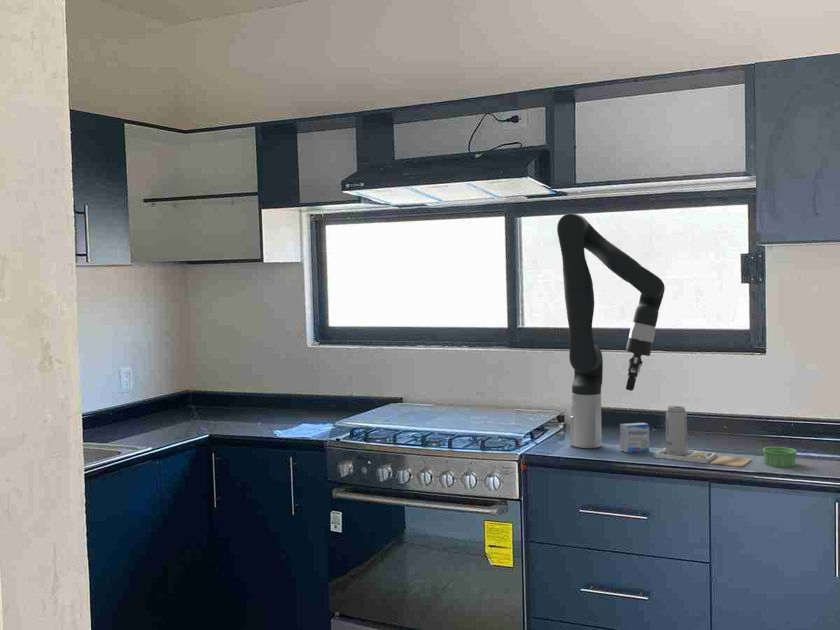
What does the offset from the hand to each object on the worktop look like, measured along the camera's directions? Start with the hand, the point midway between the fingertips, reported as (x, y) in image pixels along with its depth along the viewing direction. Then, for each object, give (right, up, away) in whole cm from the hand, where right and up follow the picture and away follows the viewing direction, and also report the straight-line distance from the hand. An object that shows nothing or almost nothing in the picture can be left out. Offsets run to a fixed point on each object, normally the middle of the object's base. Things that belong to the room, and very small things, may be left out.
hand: (629, 389), depth 260 cm
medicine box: (+2, -20, +1) cm, 20 cm away
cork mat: (+26, -20, -16) cm, 36 cm away
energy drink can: (+13, -20, -7) cm, 24 cm away
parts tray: (+15, -20, -9) cm, 26 cm away
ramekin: (+38, -20, -20) cm, 48 cm away
